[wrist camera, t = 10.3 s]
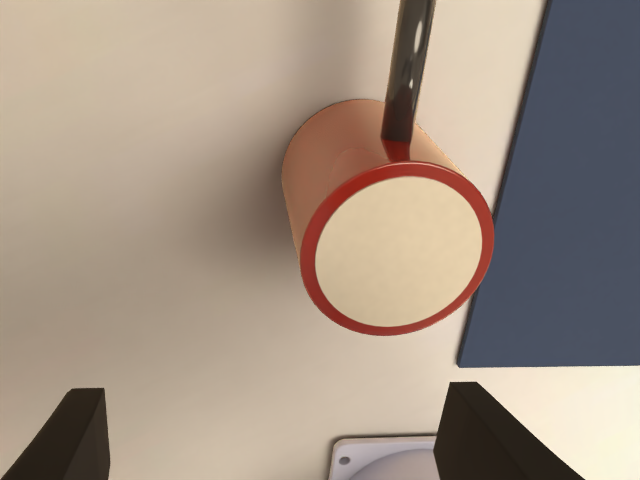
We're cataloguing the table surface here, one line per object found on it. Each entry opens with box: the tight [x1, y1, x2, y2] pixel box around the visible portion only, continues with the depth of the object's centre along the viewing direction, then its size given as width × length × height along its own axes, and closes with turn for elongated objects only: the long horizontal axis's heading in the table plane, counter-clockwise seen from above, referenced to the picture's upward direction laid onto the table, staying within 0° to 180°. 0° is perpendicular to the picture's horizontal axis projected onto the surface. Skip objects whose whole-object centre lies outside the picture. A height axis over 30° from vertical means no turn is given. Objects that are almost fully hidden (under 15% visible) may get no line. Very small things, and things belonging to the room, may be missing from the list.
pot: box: [282, 0, 494, 336], centre depth 18 cm, size 11×5×6 cm, turn 174°
